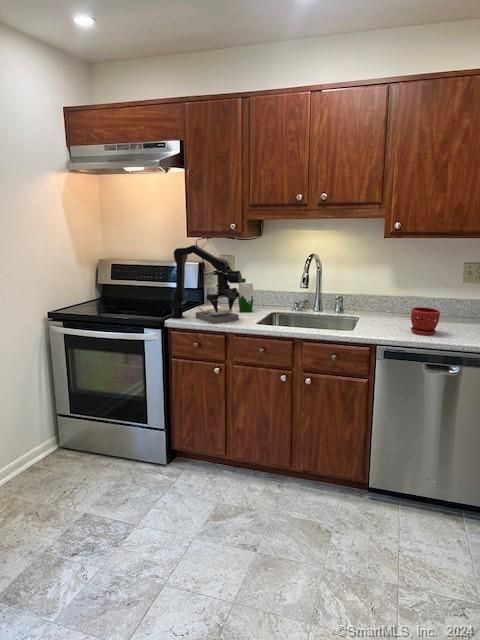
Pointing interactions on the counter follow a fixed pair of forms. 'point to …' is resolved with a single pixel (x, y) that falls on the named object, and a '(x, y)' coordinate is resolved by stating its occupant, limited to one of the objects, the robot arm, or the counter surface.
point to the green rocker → (220, 311)
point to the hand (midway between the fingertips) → (223, 311)
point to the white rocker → (208, 308)
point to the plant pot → (424, 320)
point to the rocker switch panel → (217, 317)
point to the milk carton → (245, 296)
